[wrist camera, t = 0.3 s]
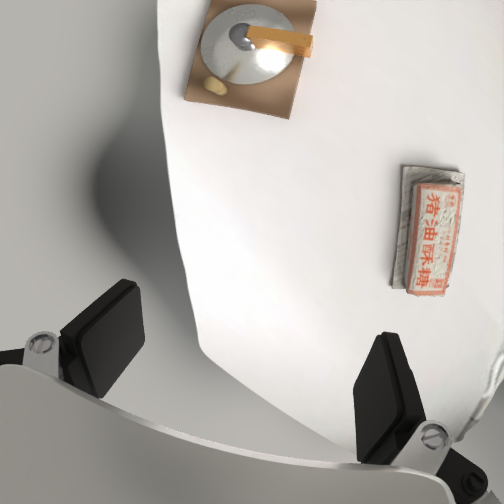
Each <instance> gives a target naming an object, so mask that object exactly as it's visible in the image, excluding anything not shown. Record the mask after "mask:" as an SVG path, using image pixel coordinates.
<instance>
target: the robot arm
mask: <svg viewBox="0 0 504 504" xmlns="http://www.w3.org/2000/svg"><path fill="white" fill-rule="evenodd" d="M60 333H61V336H59V337H57V336H56V335H55V334H54V333H52V332H38V333H36V334H34V335H32V336H31V337H30V338H29V339H28V340H27V342H26V345H25V348H22V349H15V350H7V351H0V504H502V503H501V502H500V501H499V499H498V498H497V497H496V496H495V494H494V493H493V492H492V490H491V491H490V492H488V491H487V490H486V489H487V487H488V479H487V476H486V474H485V472H484V471H483V470H482V469H480V468H479V467H478V466H476V465H475V464H473V463H472V462H471V461H469V460H468V459H466V458H465V457H463V456H462V455H461V454H459V453H458V452H456V451H455V450H453V449H452V448H451V444H452V435H451V432H450V430H449V429H448V428H447V426H445V425H444V424H443V423H441V422H439V421H435V420H428V421H427V420H426V416H425V412H424V409H423V405H422V402H421V398H420V395H419V391H418V388H417V385H416V382H415V378H414V375H413V372H412V370H411V369H410V367H409V364H408V361H407V358H406V355H405V352H404V349H403V347H402V344H401V341H400V338H399V335H398V334H397V333H391V332H383V333H382V334H381V335H377V336H376V338H375V341H374V343H373V345H372V348H371V350H370V352H369V354H368V357H367V359H366V361H365V363H364V365H363V367H362V369H361V371H360V374H359V376H358V378H357V380H356V382H355V384H354V387H353V397H354V410H355V426H356V446H357V460H358V461H359V462H361V464H353V463H337V462H325V461H315V460H306V459H298V458H290V457H284V456H277V455H271V454H266V453H260V452H255V451H250V450H246V449H241V448H237V447H232V446H228V445H224V444H220V443H216V442H213V441H208V440H205V439H201V438H198V437H195V436H192V435H188V434H185V433H182V432H179V431H176V430H173V429H170V428H167V427H164V426H161V425H159V424H156V423H153V422H151V421H148V420H146V419H143V418H140V417H138V416H136V415H133V414H131V413H128V412H126V411H124V410H121V409H119V408H117V407H115V406H112V405H110V404H108V403H106V402H104V401H102V400H100V399H99V398H103V397H104V396H105V395H106V393H107V392H108V391H109V389H110V388H111V387H112V385H113V384H114V383H115V381H116V380H117V379H118V377H119V376H120V375H121V374H122V372H123V371H124V370H125V368H126V367H127V366H128V364H129V363H130V362H131V360H132V359H133V358H134V356H135V355H136V354H137V353H138V351H139V350H140V349H141V347H142V346H143V345H144V342H145V334H144V326H143V317H142V306H141V295H140V288H139V287H138V286H137V284H136V282H134V281H130V280H127V279H121V280H120V281H119V282H117V283H116V284H115V285H114V286H112V287H111V288H110V289H109V290H107V291H106V292H105V293H104V294H103V295H101V296H100V297H99V298H98V299H97V300H95V301H94V302H93V303H92V304H91V305H89V306H88V307H87V308H86V309H85V310H84V311H82V312H81V313H80V314H79V315H78V316H77V317H75V318H74V319H73V320H72V321H71V322H70V323H68V324H67V325H66V326H65V327H64V328H63V329H62V330H60Z"/></svg>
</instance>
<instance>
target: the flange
mask: <svg viewBox="0 0 504 504" xmlns="http://www.w3.org/2000/svg"><path fill="white" fill-rule="evenodd" d="M312 48H313V36H311V35H306V34H302V33H297V32H295V31H294V28H293V26H292V24H291V23H290V21H289V20H288V19H287V18H286V17H285V16H284V15H283V14H282V13H280V12H279V11H277V10H275V9H273V8H271V7H268V6H264V5H259V4H245V5H239V6H236V7H233V8H230V9H228V10H226V11H224V12H222V13H221V14H219V15H218V16H217V17H215V18H214V19H213V20H212V21H211V22H210V24H209V25H208V26H207V28H206V30H205V32H204V34H203V37H202V40H201V54H202V58H203V60H204V63H205V64H206V66H207V67H208V68H209V70H210V71H211V72H212V73H214V74H215V75H216V76H218V77H219V78H221V79H222V80H224V81H226V82H229V83H232V84H237V85H257V84H261V83H264V82H267V81H270V80H272V79H274V78H275V77H277V76H278V75H280V74H281V73H282V72H283V71H284V70H285V69H286V68H287V67H288V66H289V65H290V63H291V62H292V60H293V58H294V55H299V56H303V57H308V58H310V56H311V52H312Z"/></svg>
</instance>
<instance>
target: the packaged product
mask: <svg viewBox="0 0 504 504" xmlns="http://www.w3.org/2000/svg"><path fill="white" fill-rule="evenodd" d="M464 179H465V173H461V172H456V171H444V170H439V169H434V168H426V167H418V166H414V167H403V177H402V206H401V216H400V226H399V233H398V240H397V255H396V261H395V266H394V274H393V284H392V289H406V292H407V293H408V294H413V295H416V296H427V295H428V296H434V297H435V296H444V295H445V289H446V288H447V287H449V280H450V276H451V272H452V268H453V263H454V257H455V252H456V247H457V242H458V234H459V229H460V221H461V212H462V205H463V195H464Z"/></svg>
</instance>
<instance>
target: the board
mask: <svg viewBox="0 0 504 504" xmlns="http://www.w3.org/2000/svg"><path fill="white" fill-rule="evenodd" d="M245 4H259V5H264V6H268V7H271V8H273V9H275V10H277V11H279V12H280V13H282V14H283V15H284V16H285V17H286V18H287V19H288V20H289V21H290V23H291V24H292V26H293V28H294V31H295V32H297V33H302V34H306V35H310V31H311V27H312V23H313V19H314V15H315V11H316V1H314V0H212V2H211V4H210V7H209V11H208V14H207V17H206V20H205V23H204V26H203V29H202V33H201V36H200V40H199V43H198V47H197V50H196V54H195V57H194V61H193V65H192V69H191V73H190V77H189V81H188V85H187V89H186V93H185V97H184V100H186V101H190V102H198V103H205V104H212V105H219V106H225V107H231V108H237V109H242V110H247V111H253V112H257V113H262V114H267V115H272V116H276V117H280V118H285V119H289V117H290V113H291V109H292V105H293V101H294V97H295V93H296V89H297V85H298V81H299V77H300V72H301V68H302V64H303V60H304V57H303V56H299V55H294V58H293V60H292V62H291V63H290V65H289V66H288V67H287V68H286V69H285V70H284V71H283V72H282V73H281V74H280V75H278V76H277V77H275V78H274V79H272V80H270V81H267V82H264V83H261V84H257V85H237V84H232V83H229V82H226V81H224V80H222V79H221V78H219V77H218V76H216V75H215V74H214V73H212V72H211V71H210V70H209V68H208V67H207V66H206V64H205V63H204V60H203V58H202V54H201V40H202V37H203V34H204V32H205V30H206V28H207V26H208V25H209V24H210V22H211V21H212V20H213V19H214V18H215V17H217V16H218V15H219V14H221V13H222V12H224V11H226V10H228V9H230V8H233V7H236V6H239V5H245Z"/></svg>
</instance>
